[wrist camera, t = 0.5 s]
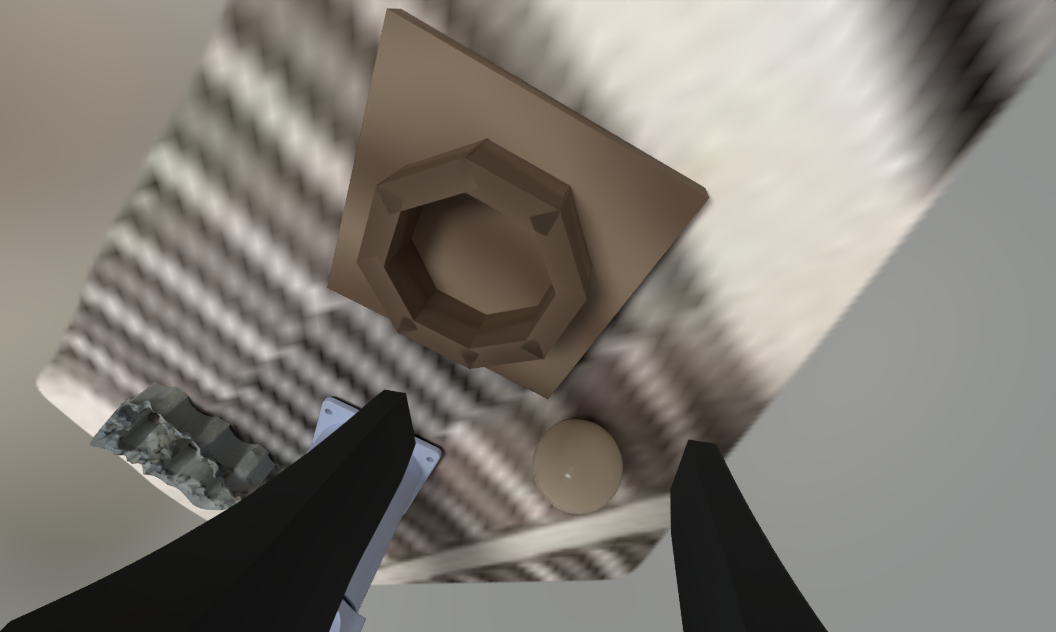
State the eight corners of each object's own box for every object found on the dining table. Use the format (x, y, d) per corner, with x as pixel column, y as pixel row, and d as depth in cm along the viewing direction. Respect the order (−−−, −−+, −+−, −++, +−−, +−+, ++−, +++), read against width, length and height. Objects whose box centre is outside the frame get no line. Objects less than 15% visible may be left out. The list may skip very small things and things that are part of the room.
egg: (595, 467, 26) (589, 543, 22) (527, 434, 25) (509, 506, 21) (640, 426, 23) (641, 505, 19) (565, 387, 22) (551, 461, 19)
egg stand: (551, 385, 22) (539, 438, 20) (339, 277, 21) (293, 317, 18) (705, 188, 15) (720, 226, 13) (400, 8, 14) (343, 7, 11)
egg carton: (290, 460, 33) (253, 510, 30) (247, 483, 37) (209, 529, 33) (164, 368, 29) (105, 413, 26) (129, 404, 33) (74, 447, 30)
